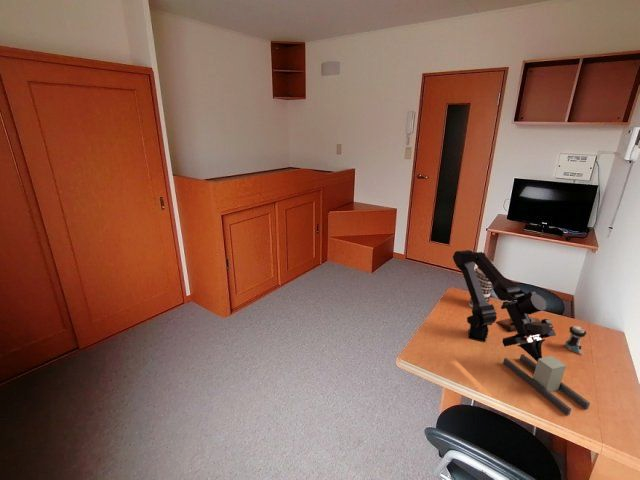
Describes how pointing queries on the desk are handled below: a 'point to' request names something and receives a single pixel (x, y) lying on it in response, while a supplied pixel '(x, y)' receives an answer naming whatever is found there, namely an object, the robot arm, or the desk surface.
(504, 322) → the sunglasses case
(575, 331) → the push button
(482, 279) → the decorative candle
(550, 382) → the block
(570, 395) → the steel chute
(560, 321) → the desk surface
